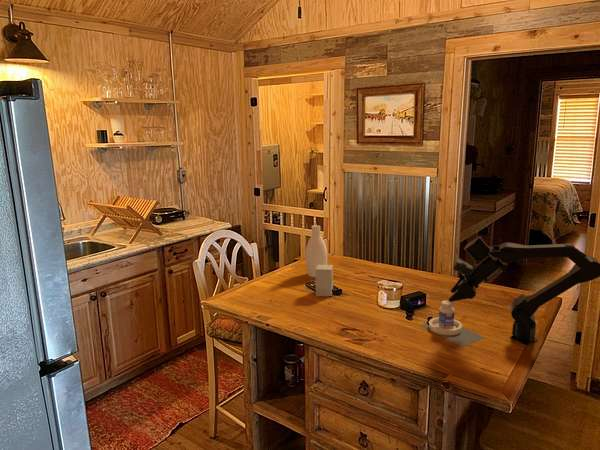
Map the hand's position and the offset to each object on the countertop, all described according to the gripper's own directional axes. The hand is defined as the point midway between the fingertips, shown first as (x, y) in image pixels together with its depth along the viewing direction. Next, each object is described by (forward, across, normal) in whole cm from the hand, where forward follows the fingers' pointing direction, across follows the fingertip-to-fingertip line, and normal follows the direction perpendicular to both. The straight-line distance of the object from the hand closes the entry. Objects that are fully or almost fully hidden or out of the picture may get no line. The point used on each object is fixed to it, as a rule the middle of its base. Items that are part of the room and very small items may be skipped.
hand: (450, 296), depth 169 cm
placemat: (+8, +2, +10) cm, 13 cm away
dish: (+10, 0, +8) cm, 13 cm away
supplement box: (+48, -20, -30) cm, 60 cm away
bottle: (+57, -44, -39) cm, 81 cm away
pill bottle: (+10, 0, +8) cm, 13 cm away
